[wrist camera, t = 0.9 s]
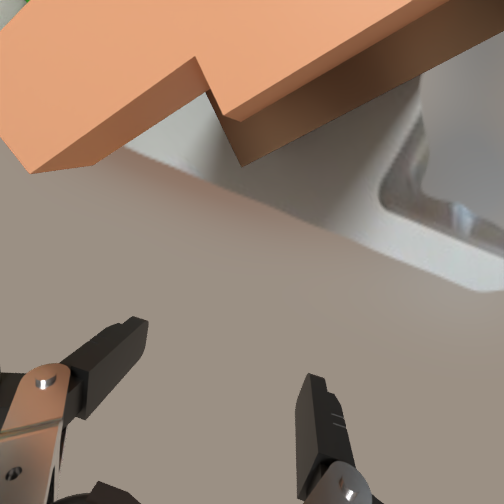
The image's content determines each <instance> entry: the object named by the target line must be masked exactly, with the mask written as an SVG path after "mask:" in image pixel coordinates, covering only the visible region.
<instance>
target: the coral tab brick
mask: <svg viewBox="0 0 504 504" xmlns="http://www.w3.org/2000/svg"><path fill="white" fill-rule="evenodd" d="M448 1H449V0H30V1H29V2H28V3H27V4H26V5H25V6H24V7H23V8H22V9H21V10H20V11H19V12H18V13H17V14H16V15H15V16H14V17H13V18H12V20H11V21H10V22H9V23H8V24H7V25H6V26H5V27H4V28H3V29H2V30H1V31H0V137H1V138H2V140H3V141H4V142H5V143H6V145H7V146H8V147H9V148H10V150H11V151H12V152H13V154H14V155H15V156H16V157H17V159H18V160H19V161H20V162H21V164H22V165H23V166H24V167H25V169H26V170H27V171H28V172H29V174H34V173H41V172H49V171H56V170H62V169H70V168H78V167H84V166H92V165H94V164H96V163H97V162H99V161H100V160H102V159H103V158H105V157H107V156H108V155H110V154H111V153H112V152H114V151H116V150H117V149H119V148H120V147H122V146H123V145H125V144H126V143H128V142H129V141H131V140H133V139H134V138H136V137H137V136H139V135H140V134H142V133H143V132H145V131H146V130H148V129H149V128H151V127H152V126H154V125H155V124H157V123H158V122H160V121H162V120H163V119H165V118H166V117H168V116H169V115H171V114H172V113H174V112H175V111H177V110H178V109H180V108H181V107H183V106H184V105H186V104H188V103H189V102H191V101H192V100H194V99H195V98H197V97H198V96H200V95H201V94H203V93H204V92H206V91H207V90H209V89H210V88H211V90H212V93H213V95H214V97H215V99H216V101H217V103H218V105H219V107H220V110H221V112H222V114H223V115H224V116H226V117H229V118H232V119H234V120H237V121H240V122H242V121H244V120H245V119H247V118H249V117H250V116H252V115H254V114H256V113H257V112H259V111H261V110H262V109H264V108H266V107H268V106H269V105H271V104H273V103H274V102H276V101H278V100H280V99H281V98H283V97H285V96H286V95H288V94H290V93H292V92H293V91H295V90H297V89H298V88H300V87H302V86H304V85H305V84H307V83H309V82H310V81H312V80H314V79H316V78H317V77H319V76H321V75H322V74H324V73H326V72H328V71H329V70H331V69H333V68H334V67H336V66H338V65H340V64H341V63H343V62H345V61H346V60H348V59H350V58H352V57H353V56H355V55H357V54H358V53H360V52H362V51H364V50H365V49H367V48H369V47H370V46H372V45H374V44H376V43H377V42H379V41H381V40H382V39H384V38H386V37H388V36H389V35H391V34H393V33H394V32H396V31H398V30H400V29H401V28H403V27H405V26H406V25H408V24H410V23H412V22H413V21H415V20H417V19H418V18H420V17H422V16H424V15H425V14H427V13H429V12H430V11H432V10H434V9H436V8H437V7H439V6H441V5H442V4H444V3H446V2H448Z"/></svg>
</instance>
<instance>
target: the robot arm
mask: <svg viewBox="0 0 504 504" xmlns="http://www.w3.org/2000/svg"><path fill="white" fill-rule="evenodd" d="M147 331H148V321H146V320H144V319H140V318H137V317H134V316H132V317H131V318H129V319H128V320H127V321H126V322H124V323H123V324H120V323H117V324H114V325H112V326H109V327H107V328H105V329H104V330H103V331H101V332H100V333H98V334H97V336H94V337H93V338H92V339H91V340H90V341H89V342H87V343H85V344H84V345H83V346H81V347H80V348H79V349H77V350H76V351H75V352H73V353H72V354H71V355H69V356H68V357H67V358H65V359H64V360H63V361H61V362H60V363H52V364H46V365H42V366H39V367H37V368H34V369H33V370H31V371H29V372H28V373H26V374H24V373H22V374H21V373H1V372H0V504H141V503H139V502H138V501H137V500H136V499H135V498H134V497H133V496H132V495H130V494H129V493H128V492H126V491H123V490H121V489H118V488H116V487H113V486H110V485H108V484H105V483H102V482H100V481H98V482H97V484H96V485H95V486H94V488H93V489H92V492H91V493H83V494H76V495H72V496H68V497H65V498H63V499H60V500H57V498H58V488H59V480H60V473H61V467H62V461H63V454H64V448H65V442H66V435H67V429H68V424H69V423H70V422H71V421H72V420H73V419H74V418H75V417H78V418H81V419H83V420H86V419H87V418H88V417H89V416H90V414H91V413H92V412H93V411H94V410H95V409H96V408H97V406H98V405H99V404H100V403H101V402H102V401H103V400H104V399H105V397H106V396H107V395H108V394H109V393H110V392H111V391H112V390H113V388H114V387H115V386H116V385H117V384H118V383H119V382H120V381H121V379H122V378H123V377H124V376H125V375H126V374H127V372H129V370H130V369H131V368H132V367H133V366H134V365H135V364H136V362H137V361H138V360H139V359H140V357H141V356H142V354H143V352H144V349H145V344H146V338H147ZM343 418H344V416H343V412H342V408H341V405H340V403H339V401H338V400H337V398H336V396H335V395H334V394H332V393H329V392H327V387H326V382H325V379H324V378H322V377H319V376H316V375H313V374H310V373H308V374H307V376H306V378H305V380H304V383H303V386H302V388H301V391H300V394H299V396H298V399H297V403H296V409H295V426H296V468H297V498H298V499H300V500H303V501H305V502H304V503H303V504H384V503H382V502H381V501H379V500H378V499H377V498H376V497H375V496H373V495H372V494H371V491H370V488H369V486H368V484H367V482H366V480H365V479H364V477H363V476H362V475H361V473H360V472H359V471H358V470H357V469H356V467H355V463H354V458H353V454H352V450H351V446H350V442H349V437H348V433H347V429H346V424H345V420H344V419H343Z"/></svg>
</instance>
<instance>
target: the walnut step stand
mask: <svg viewBox="0 0 504 504" xmlns="http://www.w3.org/2000/svg"><path fill="white" fill-rule="evenodd" d="M503 31H504V0H449V1H448V2H446V3H444V4H442V5H441V6H439V7H437V8H436V9H434V10H432V11H430V12H429V13H427V14H425V15H424V16H422V17H420V18H418V19H417V20H415V21H413V22H412V23H410V24H408V25H406V26H405V27H403V28H401V29H400V30H398V31H396V32H394V33H393V34H391V35H389V36H388V37H386V38H384V39H382V40H381V41H379V42H377V43H376V44H374V45H372V46H370V47H369V48H367V49H365V50H364V51H362V52H360V53H358V54H357V55H355V56H353V57H352V58H350V59H348V60H346V61H345V62H343V63H341V64H340V65H338V66H336V67H334V68H333V69H331V70H329V71H328V72H326V73H324V74H322V75H321V76H319V77H317V78H316V79H314V80H312V81H310V82H309V83H307V84H305V85H304V86H302V87H300V88H298V89H297V90H295V91H293V92H292V93H290V94H288V95H286V96H285V97H283V98H281V99H280V100H278V101H276V102H274V103H273V104H271V105H269V106H268V107H266V108H264V109H262V110H261V111H259V112H257V113H256V114H254V115H252V116H250V117H249V118H247V119H245V120H244V121H242V122H240V121H237V120H234V119H232V118H229V117H226V116H224V115H223V114H222V112H221V110H220V107H219V105H218V103H217V101H216V99H215V97H214V95H213V93H212V90H211V88H210V89H209V90H207V91H206V94H207V97H208V99H209V101H210V103H211V105H212V107H213V109H214V111H215V113H216V115H217V117H218V119H219V121H220V124H221V126H222V128H223V130H224V132H225V134H226V136H227V138H228V140H229V142H230V144H231V146H232V148H233V151H234V153H235V155H236V157H237V159H238V161H239V163H240V165H241V167H244V166H246V165H248V164H250V163H251V162H253V161H255V160H257V159H259V158H261V157H263V156H265V155H267V154H269V153H271V152H273V151H274V150H276V149H278V148H280V147H282V146H284V145H286V144H288V143H290V142H292V141H294V140H296V139H297V138H299V137H301V136H303V135H305V134H307V133H309V132H311V131H313V130H315V129H317V128H319V127H320V126H322V125H324V124H326V123H328V122H330V121H332V120H334V119H336V118H338V117H340V116H342V115H343V114H345V113H347V112H349V111H351V110H353V109H355V108H357V107H359V106H361V105H363V104H365V103H366V102H368V101H370V100H372V99H374V98H376V97H378V96H380V95H382V94H384V93H386V92H388V91H389V90H391V89H393V88H395V87H397V86H399V85H401V84H403V83H405V82H407V81H409V80H411V79H412V78H414V77H416V76H418V75H420V74H422V73H424V72H426V71H428V70H430V69H432V68H433V67H435V66H437V65H439V64H441V63H443V62H445V61H447V60H449V59H451V58H453V57H454V56H457V55H458V54H460V53H462V52H464V51H466V50H468V49H470V48H472V47H473V46H476V45H478V44H480V43H481V42H483V41H485V40H487V39H489V38H491V37H493V36H495V35H497V34H499V33H501V32H503Z"/></svg>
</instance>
